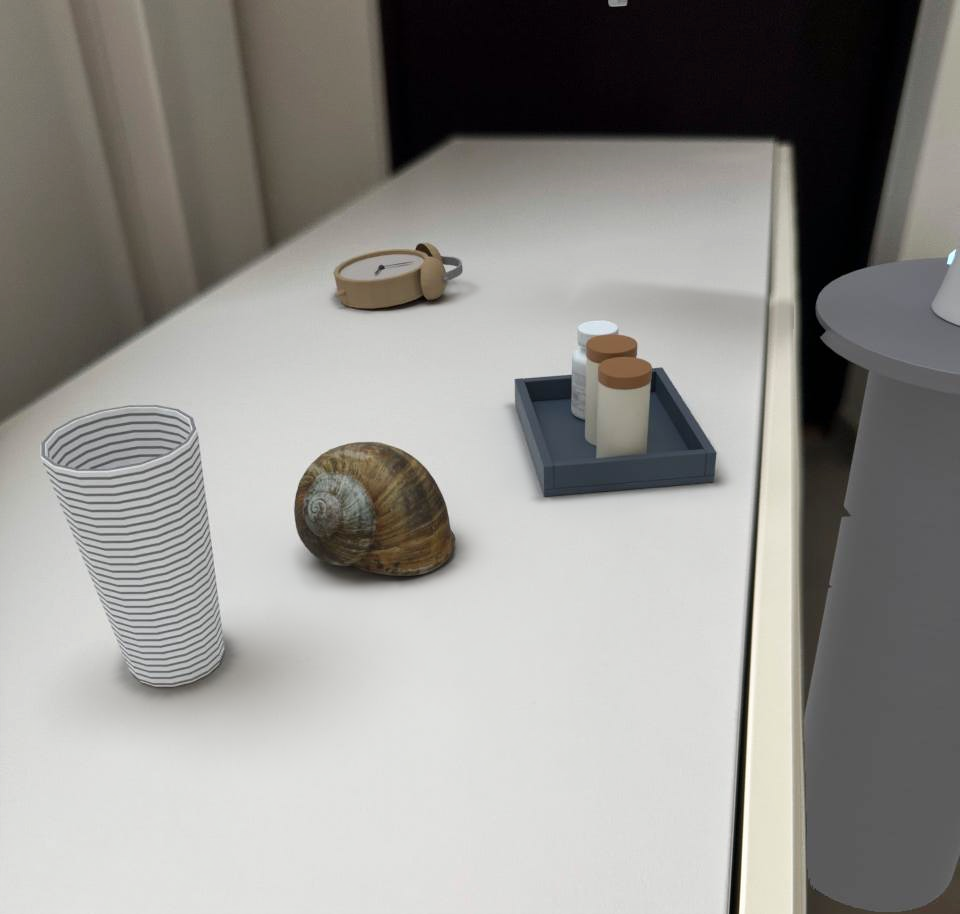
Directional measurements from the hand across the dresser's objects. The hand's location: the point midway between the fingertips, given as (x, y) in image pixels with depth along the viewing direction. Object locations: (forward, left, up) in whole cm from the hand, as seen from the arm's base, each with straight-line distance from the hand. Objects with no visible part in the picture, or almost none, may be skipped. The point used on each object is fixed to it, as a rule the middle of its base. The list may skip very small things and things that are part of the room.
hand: (667, 2), depth 98 cm
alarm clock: (+27, -12, -29) cm, 42 cm away
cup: (+44, +57, -29) cm, 78 cm away
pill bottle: (+11, +26, -29) cm, 41 cm away
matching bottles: (+11, +34, -29) cm, 46 cm away
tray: (+11, +31, -29) cm, 44 cm away
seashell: (+31, +46, -29) cm, 63 cm away
